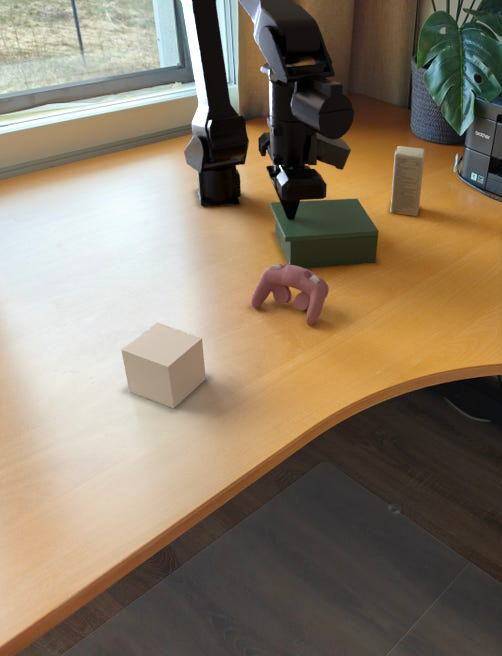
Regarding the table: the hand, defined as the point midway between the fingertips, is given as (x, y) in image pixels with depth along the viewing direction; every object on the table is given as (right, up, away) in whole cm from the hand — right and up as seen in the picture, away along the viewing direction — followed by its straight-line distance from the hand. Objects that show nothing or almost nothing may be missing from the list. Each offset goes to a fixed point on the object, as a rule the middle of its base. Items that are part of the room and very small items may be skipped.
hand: (290, 218), depth 101 cm
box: (+17, +6, +20) cm, 27 cm away
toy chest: (+5, -4, +5) cm, 8 cm away
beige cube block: (-10, -25, -24) cm, 36 cm away
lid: (+5, 0, +2) cm, 5 cm away
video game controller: (+2, -15, -9) cm, 17 cm away
